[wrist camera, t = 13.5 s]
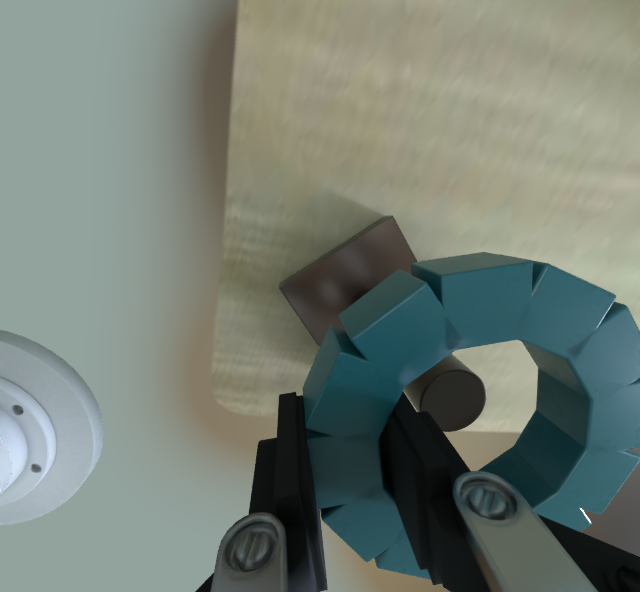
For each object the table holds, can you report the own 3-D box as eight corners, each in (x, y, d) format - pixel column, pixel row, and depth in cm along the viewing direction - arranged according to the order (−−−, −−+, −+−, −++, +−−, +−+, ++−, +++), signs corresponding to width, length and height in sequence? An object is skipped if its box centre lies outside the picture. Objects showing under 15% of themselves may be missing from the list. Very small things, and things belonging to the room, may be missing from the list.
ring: (411, 563, 12) (433, 628, 10) (239, 389, 10) (226, 431, 8) (633, 415, 12) (701, 454, 10) (507, 184, 9) (565, 176, 7)
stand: (343, 376, 25) (401, 547, 12) (279, 283, 23) (268, 372, 10) (440, 316, 25) (609, 427, 12) (386, 215, 22) (521, 215, 9)
